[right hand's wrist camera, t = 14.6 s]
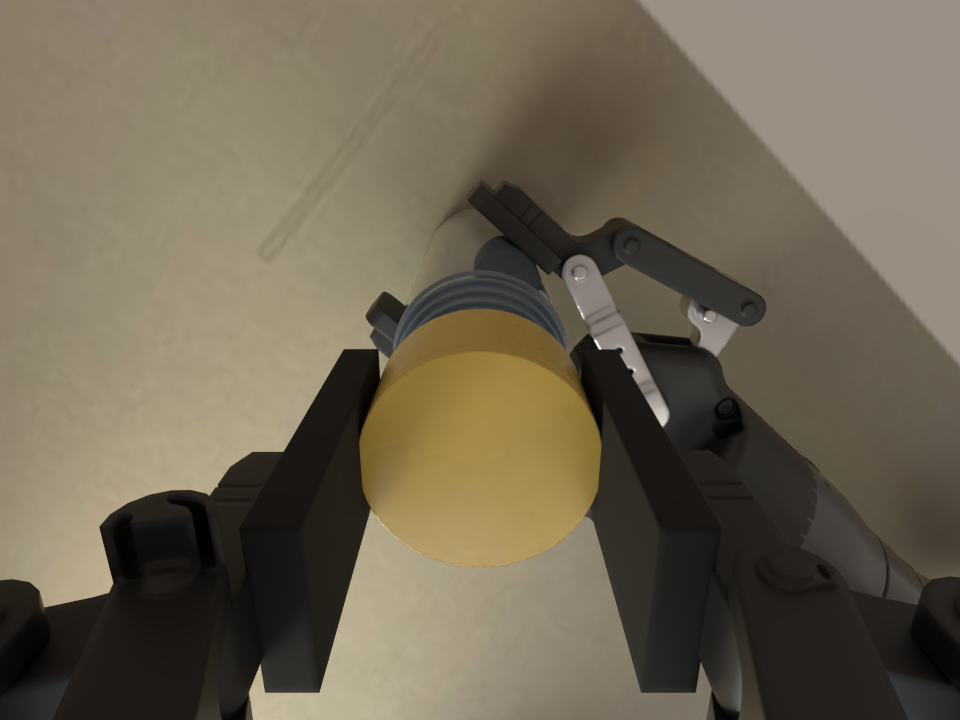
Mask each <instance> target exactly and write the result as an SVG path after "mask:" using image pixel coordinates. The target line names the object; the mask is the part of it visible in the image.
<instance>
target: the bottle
mask: <svg viewBox="0 0 960 720" xmlns="http://www.w3.org/2000/svg"><path fill="white" fill-rule="evenodd" d="M469 309H492V310H500V311H505V312H508V313H512V314H516V315H518V316H521V317H523V318H526V319H528V320H530V321H532V322H534V323H535V324H537V325H539V326H541V327H542V328H543V329H545V330H546V331H547V332H548V333H550V334H551V335H552V336H553V337H554V338H555V339H556V340H557V341H558V342H559V343H560V344H561V345H562V346H563V348H564V349H565V350H566V352H567V342H566V336H565V332H564V329H563V326H562V323H561V320H560V318H559V315H558V313H557V310H556V308H555V305H554V303H553V300H552V298H551V295H550V293H549V290H548V288H547V285H546V283H545V280H544V278H543V275H542V273H541V270H540V268H539V266H538V265H537V264H536V263H534V262H533V261H532V260H531V259H530V257H528V256H527V255H526V254H525V253H524V252H523V251H521V250H520V249H519V248H518V247H517V246H516V245H515V244H514V243H513V242H511V241H510V240H509V239H508V238H507V237H506V236H505V235H504V234H503V233H502V232H501V231H499V230H498V229H497V228H496V227H495V226H494V225H493V224H492V223H491V222H490V221H488V220H487V219H486V218H485V217H484V216H483V215H482V214H481V213H480V212H479V211H478V210H476V209H475V208H471V209H466V210H463V211H460V212H458V213H456V214H454V215H452V216H451V217H450V218H448V219H447V220H446V221H445V222H444V223H443V224H442V225H441V226H440V227H439V228H438V230H437V231H436V233H435V234H434V236H433V239H432V241H431V243H430V246H429V248H428V251H427V253H426V256H425V258H424V261H423V263H422V266H421V268H420V271H419V274H418V276H417V279H416V281H415V284H414V286H413V289H412V291H411V294H410V296H409V299H408V301H407V304H406V306H405V309H404V311H403V314H402V316H401V319H400V321H399V324H398V327H397V330H396V334H395V339H394V346H393V352H394V351H395V350H396V348H397V347H398V346H399V345H400V343H401V342H402V341H403V340H404V339H405V338H406V337H407V336H409V335H410V334H411V333H412V332H413V331H415V330H416V329H417V328H419V327H420V326H422V325H423V324H425V323H427V322H429V321H431V320H432V319H435V318H437V317H440V316H442V315H445V314H448V313H452V312H456V311H460V310H469Z"/></svg>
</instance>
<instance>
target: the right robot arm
mask: <svg viewBox="0 0 960 720" xmlns="http://www.w3.org/2000/svg"><path fill="white" fill-rule="evenodd" d="M379 382H380V369H379V353H378V349H344V350H343V352H342V353H341V355H340V357H339V359H338V360H337V362H336V364H335V365H334V367H333V369H332V370H331V372H330V374H329V376H328V377H327V379H326V381H325V382H324V384H323V386H322V388H321V389H320V391H319V393H318V394H317V396H316V398H315V399H314V401H313V403H312V405H311V406H310V408H309V410H308V411H307V413H306V415H305V416H304V418H303V420H302V422H301V423H300V425H299V427H298V428H297V430H296V432H295V433H294V435H293V437H292V439H291V440H290V442H289V444H288V445H287V447H286V449H285V451H284V452H252V453H250V454H249V455H247V456H246V457H244V458H243V459H241V460H240V461H238V462H237V463H235V464H234V465H232V466H231V467H230V468H229V470H228V471H227V472H226V474H225V475H224V476H223V478H222V479H221V481H220V482H219V483H218V487H216V488H215V489H214V490H213V492H212V493H211V495H210V496H209V495H207V494H205V493H201V492H197V491H193V490H171V491H166V492H161V493H156V494H151V495H148V496H145V497H143V498H140V499H137V500H135V501H132V502H130V503H127V504H126V505H124V506H123V507H121V508H120V509H118V510H116V511H115V512H113V513H112V514H110V515H109V516H108V518H107V519H106V520H105V521H104V522H103V523H102V524H101V526H100V531H101V535H102V539H103V543H104V547H105V551H106V555H107V559H108V563H109V567H110V571H111V575H112V579H113V585H112V588H111V590H110V592H109V593H107V594H103V595H100V596H96V597H92V598H88V599H83V600H78V601H73V602H69V603H64V604H59V605H55V606H50V607H45V608H44V605H43V602H42V599H41V595H40V592H39V590H38V589H37V588H36V587H35V586H33V585H32V584H31V583H30V582H26V581H20V580H14V579H10V580H1V581H0V720H253V717H252V709H251V703H250V697H249V690H250V688H251V685H252V683H253V680H254V678H255V676H256V673H257V671H258V668H259V666H260V664H261V670H262V676H263V682H264V689H265V693H319V692H320V689H321V685H322V682H323V678H324V674H325V671H326V667H327V664H328V660H329V656H330V653H331V649H332V646H333V642H334V639H335V635H336V631H337V628H338V624H339V621H340V617H341V613H342V610H343V606H344V603H345V599H346V596H347V592H348V588H349V585H350V581H351V578H352V574H353V570H354V567H355V563H356V560H357V556H358V552H359V549H360V545H361V542H362V538H363V535H364V531H365V527H366V524H367V520H368V517H369V513H370V509H371V507H370V506H369V504H368V502H367V500H366V498H365V495H364V493H363V487H362V474H361V460H360V447H359V437H360V433H361V429H362V427H363V424H364V421H365V419H366V416H367V413H368V411H369V408H370V406H371V403H372V400H373V398H374V395H375V392H376V390H377V387H378V384H379ZM581 383H582V386H583V388H584V391H585V394H586V396H587V399H588V401H589V404H590V407H591V409H592V412H593V414H594V417H595V420H596V422H597V425H598V428H599V430H600V434H601V440H602V442H601V457H600V470H599V483H598V492H597V494H596V497H595V499H594V501H593V503H592V505H591V507H590V511H591V514H592V518H593V521H594V525H595V528H596V532H597V536H598V539H599V543H600V546H601V550H602V554H603V557H604V561H605V564H606V568H607V571H608V575H609V579H610V582H611V586H612V589H613V593H614V597H615V600H616V604H617V607H618V611H619V614H620V618H621V622H622V625H623V629H624V632H625V636H626V640H627V643H628V647H629V650H630V654H631V657H632V661H633V665H634V668H635V672H636V675H637V679H638V683H639V686H640V690H641V693H696V687H697V681H698V674H699V668H700V662H701V663H702V665H703V668H704V670H705V673H706V675H707V678H708V680H709V683H710V685H711V688H712V691H711V697H710V703H709V708H708V714H707V720H960V578H959V577H944V578H938V579H932V580H931V581H930V582H929V583H927V584H926V585H925V586H924V587H923V589H922V592H921V595H920V598H919V602H918V605H915V604H910V603H905V602H900V601H896V600H891V599H886V598H881V597H877V596H872V595H868V594H864V593H860V592H857V591H853V590H850V589H849V587H848V584H847V582H846V581H845V580H844V578H843V577H842V576H841V574H840V573H839V571H838V570H837V569H836V568H835V567H833V566H832V565H831V564H829V563H828V562H827V561H825V560H824V559H823V558H821V557H820V556H818V555H815V554H813V553H811V552H809V551H806V550H804V549H802V548H800V547H795V546H791V545H788V544H787V542H786V541H785V539H784V538H783V537H782V535H781V534H780V532H779V531H778V530H777V528H776V527H775V526H774V524H773V523H772V521H771V520H770V519H769V517H768V516H767V514H766V513H765V512H764V510H763V509H762V507H761V506H760V505H759V503H758V502H757V501H756V500H754V499H753V495H752V494H751V492H750V491H749V489H748V488H747V487H746V485H743V481H742V480H741V478H740V477H739V476H738V474H737V473H736V471H735V470H734V469H733V467H732V466H731V465H730V464H729V463H727V462H726V461H724V460H723V459H721V458H720V457H718V456H717V455H715V454H714V453H712V452H711V451H709V450H676V449H675V448H674V446H673V444H672V442H671V441H670V439H669V437H668V436H667V434H666V432H665V430H664V429H663V427H662V425H661V424H660V422H659V420H658V419H657V417H656V415H655V413H654V412H653V410H652V408H651V407H650V405H649V403H648V402H647V400H646V398H645V396H644V395H643V393H642V391H641V390H640V388H639V386H638V385H637V383H636V381H635V379H634V378H633V376H632V374H631V373H630V371H629V369H628V368H627V366H626V364H625V362H624V361H623V359H622V357H621V356H620V354H619V352H618V351H617V349H582V365H581Z"/></svg>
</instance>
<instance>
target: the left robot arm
mask: <svg viewBox="0 0 960 720" xmlns="http://www.w3.org/2000/svg"><path fill="white" fill-rule="evenodd" d="M467 200H468V201H469V202H470V203H471V205H472V206H473V207H474V208H475V209H476V210H478V211H479V212H480V213H481V214H482V215H483V216H484V217H485V218H486V219H487V220H488V221H490V222H491V223H492V224H493V225H494V226H495V227H496V228H497V229H498V230H499V231H501V232H502V233H503V234H504V235H505V236H506V237H507V238H508V239H509V240H510V241H511V242H513V243H514V244H515V245H516V246H517V247H518V248H519V249H520V250H521V251H523V252H524V253H525V254H526V255H527V256H528V257H530V259H531V260H532V261H533V262H534V263H536V264H537V265H538V266H539V267H540V268H541V269H542V270H543V271H544V272H545V273H546V274H548V275H549V274H550V273H551V272H552V271H554V272H555V273H556V274H557V275H558V276H559V277H560V278H561V279H563V281H564V283H565V285H566V287H567V289H568V290H569V292H570V294H571V296H572V298H573V300H574V302H575V304H576V306H577V308H578V310H579V312H580V314H581V316H582V318H583V320H584V322H585V324H586V326H587V328H588V330H589V332H590V334H591V335H592V337H591V336H590V335H589V334H587V335H586V336H585V337H584V338H583V339H582V340H581V341H580V342H579V343H578V344H577V345H576V346H575V347H574V348H573V350H572V352H571V354H570V355H569V356H570V358H571V360H572V361H573V363H574V365H575V367H576V370H577V373H578V375H579V378H580V380H581V365H582V349H617V351H618V352H619V354H620V356H621V357H622V359H623V361H624V362H625V364H626V366H627V368H628V369H629V371H630V373H631V374H632V376H633V378H634V379H635V381H636V383H637V385H638V386H639V388H640V390H641V391H642V393H643V395H644V396H645V398H646V400H647V402H648V403H649V405H650V407H651V408H652V410H653V412H654V413H655V415H656V417H657V419H658V420H659V422H660V424H661V425H662V427H663V429H664V430H665V432H666V434H667V436H668V437H669V439H670V441H671V442H672V444H673V446H674V448H675V449H676V450H709V451H711V452H712V453H714V454H715V455H717V456H718V457H720V458H721V459H723V460H724V461H726V462H727V463H729V464H730V465H731V466H732V467H733V469H734V470H735V471H736V473H737V474H738V476H739V477H740V478H741V480H742V481H743V485H746V487H747V488H748V489H749V491H750V492H751V494H752V495H753V499H754V500H756V501H757V502H758V503H759V505H760V506H761V507H762V509H763V510H764V512H765V513H766V514H767V516H768V517H769V519H770V520H771V521H772V523H773V524H774V526H775V527H776V528H777V530H778V531H779V532H780V534H781V535H782V537H783V538H784V539H785V541H786V542H787V544H788V545H791V546H795V547H800V548H802V549H804V550H806V551H809V552H811V553H813V554H815V555H818V556H820V557H821V558H823V559H824V560H825V561H827V562H828V563H829V564H831V565H832V566H833V567H835V568H836V569H837V570H838V571H839V573H840V574H841V576H842V577H843V578H844V580H845V581H846V582H847V584H848V587H849V589H850V590H853V591H857V592H860V593H864V594H868V595H872V596H877V597H881V598H886V599H891V600H896V601H900V602H905V603H910V604H915V605H918V602H919V598H920V595H921V592H922V589H923V587H924V586H925V585H926V584H927V583H929V582H930V581H931V580H930V579H928V578H926V577H924V576H923V575H921V574H919V573H917V572H916V571H914V570H913V568H912V567H911V566H910V565H908V564H907V563H906V562H905V561H904V560H903V559H902V558H901V557H900V556H899V555H898V554H897V553H896V552H895V551H894V550H892V549H891V548H890V547H889V546H888V545H887V544H886V543H885V542H884V541H883V540H882V539H881V538H880V537H879V536H877V535H876V534H875V533H874V532H873V531H872V530H871V529H870V528H869V527H868V526H867V525H866V524H865V522H864V521H863V520H862V518H861V517H860V516H859V514H858V513H857V512H856V510H855V509H854V508H853V506H852V505H851V504H850V503H849V501H848V500H847V499H846V498H845V497H844V496H843V495H842V494H841V493H840V492H839V491H838V490H837V489H836V487H834V486H833V485H832V484H831V483H830V482H829V481H828V480H827V479H826V478H825V477H824V476H823V475H822V474H821V473H820V471H819V470H818V469H817V468H816V466H815V465H814V464H813V463H812V462H811V461H810V460H808V459H807V458H805V457H804V456H802V455H800V454H799V453H798V452H797V451H796V450H795V449H794V448H793V447H792V446H791V445H790V444H789V443H788V442H787V441H786V440H784V439H783V438H782V437H781V436H780V435H779V434H778V433H777V432H776V431H775V430H774V429H773V428H772V427H771V426H770V425H769V424H767V423H766V422H765V421H764V420H763V419H762V418H761V417H760V416H759V415H758V414H757V413H756V412H755V411H754V410H753V409H752V408H751V407H749V406H748V405H747V404H746V403H745V402H744V401H743V400H742V399H741V398H740V397H739V396H738V395H737V394H736V393H735V392H734V391H732V390H731V389H730V388H729V387H728V386H727V384H726V382H725V379H724V376H723V371H722V367H721V364H720V362H719V360H718V359H717V357H718V355H719V354H720V353H721V351H722V350H723V348H724V347H725V345H726V344H727V343H728V341H729V340H730V338H731V337H732V335H733V334H734V333H735V331H736V330H737V328H738V327H739V325H741V326H752V325H754V324H756V323H758V322H759V321H760V320H761V319H762V318H763V316H764V314H765V311H766V303H765V300H764V299H763V298H762V297H761V296H760V295H758V294H757V293H755V292H754V291H752V290H751V289H749V288H747V287H746V286H744V285H743V284H741V283H739V282H738V281H736V280H735V279H733V278H731V277H730V276H728V275H726V274H724V273H722V272H721V271H719V270H717V269H715V268H713V267H711V266H710V265H708V264H706V263H704V262H702V261H701V260H699V259H697V258H695V257H693V256H691V255H690V254H688V253H686V252H684V251H682V250H681V249H679V248H677V247H675V246H673V245H672V244H670V243H668V242H666V241H664V240H662V239H661V238H659V237H657V236H655V235H653V234H652V233H650V232H648V231H646V230H644V229H642V228H641V227H639V226H637V225H635V224H633V223H632V222H630V221H628V220H626V219H624V218H619V217H617V218H613V219H610V220H609V221H607V222H606V223H605V224H604V226H603V227H602V228H600V229H598V230H596V231H594V232H592V233H590V234H588V235H585V236H573V235H571V234H569V233H567V232H566V231H564V230H563V229H562V228H561V227H560V226H559V225H558V224H557V223H556V222H555V221H554V220H553V219H552V218H551V217H550V216H549V215H548V214H546V213H545V212H544V211H543V210H542V209H541V208H540V207H539V206H538V205H537V204H536V203H535V202H534V201H533V200H532V199H531V198H529V197H528V196H527V195H526V194H525V193H524V192H523V191H522V190H521V189H520V188H519V187H518V186H516V185H513V184H511V183H508V182H505V181H502V182H501V184H500V185H499V186H498V187H497V188H496V189H495V190H494V191H493V190H492V189H491V188H490V187H489V186H488V185H487V184H486V183H484V182H483V181H482V180H480V181H479V183H478V184H477V185H476V186H475V187H474V188H473V190H472V191H471V192H470V193H469V194H468V197H467ZM624 264H627V265H628V266H630V267H632V268H634V269H636V270H638V271H640V272H641V273H643V274H645V275H647V276H649V277H651V278H653V279H655V280H656V281H658V282H660V283H662V284H664V285H666V286H668V287H669V288H671V289H673V290H675V291H677V292H679V293H681V294H682V295H683V296H682V298H681V301H680V310H681V312H682V314H683V315H684V316H685V317H686V318H687V319H688V320H689V321H690V322H691V324H692V334H691V337H690V338H684V337H674V336H664V335H654V334H644V333H634V332H630V331H629V329H628V327H627V325H626V323H625V321H624V319H623V317H622V315H621V313H620V312H619V310H618V308H617V306H616V304H615V302H614V300H613V298H612V296H611V294H610V292H609V290H608V288H607V286H606V284H605V282H604V280H603V278H602V276H603V275H605V274H607V273H609V272H611V271H613V270H614V269H616V268H618V267H620V266H622V265H624ZM404 309H405V306H404V305H403V304H402V303H401V302H400V301H398V300H397V299H396V298H395V297H393V296H392V295H391V294H389V293H387V292H383V293H382V294H381V295H380V296H379V297H378V298H377V299H376V301H375V302H374V303H373V304H372V305H371V307H370V309H369V310H368V312H367V314H366V319H367V320H368V322H369V323H370V324H371V325H372V326H373V327H374V329H373V331H372V333H371V335H370V337H371V339H372V341H373V342H374V344H375V346H376V348H377V349H378V350H379V351H380V352H382V353H383V354H384V355H385V356H387V357H388V358H390V357H391V355H392V354H393V346H394V339H395V334H396V330H397V327H398V324H399V321H400V319H401V316H402V314H403V311H404ZM585 516H586V517H588V518H590V519H591V520H592V521H593V518H592V514H591V511H590V509H589V510H588V512H587V514H586V515H585ZM593 522H594V521H593Z"/></svg>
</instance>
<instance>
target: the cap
mask: <svg viewBox="0 0 960 720" xmlns="http://www.w3.org/2000/svg"><path fill="white" fill-rule="evenodd" d="M601 442H602V440H601V434H600V430H599V428H598V425H597V422H596V420H595V417H594V414H593V412H592V409H591V407H590V404H589V401H588V399H587V396H586V394H585V391H584V388H583V386H582V383H581V380H580V378H579V375H578V373H577V370H576V367H575V365H574V363H573V361H572V360H571V358H570V356H569V354H568V353H567V352H566V350H565V349H564V348H563V346H562V345H561V344H560V343H559V342H558V341H557V340H556V339H555V338H554V337H553V336H552V335H551V334H550V333H548V332H547V331H546V330H545V329H543V328H542V327H541V326H539V325H537V324H535V323H534V322H532V321H530V320H528V319H526V318H523V317H521V316H518V315H516V314H512V313H508V312H505V311H500V310H492V309H469V310H460V311H456V312H452V313H448V314H445V315H442V316H440V317H437V318H435V319H432V320H431V321H429V322H427V323H425V324H423V325H422V326H420V327H419V328H417V329H416V330H415V331H413V332H412V333H411V334H410V335H409V336H407V337H406V338H405V339H404V340H403V341H402V342H401V343H400V345H399V346H398V347H397V348H396V350H395V351H394V352H393V354H392V355H391V357H390V359H389V361H388V362H387V364H386V366H385V369H384V372H383V374H382V377H381V379H380V382H379V384H378V387H377V390H376V392H375V395H374V398H373V400H372V403H371V406H370V408H369V411H368V413H367V416H366V419H365V421H364V424H363V427H362V429H361V433H360V437H359V447H360V460H361V474H362V487H363V493H364V495H365V498H366V500H367V502H368V504H369V506H370V507H371V509H372V511H373V513H374V514H375V515H376V517H377V518H378V519H379V521H380V522H381V523H382V525H383V526H384V527H385V528H386V529H387V530H388V531H389V532H390V533H391V534H392V535H394V536H395V537H396V538H397V539H398V540H400V541H401V542H402V543H404V544H405V545H407V546H408V547H410V548H412V549H413V550H415V551H417V552H419V553H421V554H423V555H425V556H427V557H430V558H433V559H436V560H438V561H441V562H445V563H450V564H454V565H460V566H469V567H492V566H501V565H506V564H511V563H516V562H519V561H522V560H525V559H528V558H531V557H533V556H535V555H538V554H540V553H542V552H544V551H546V550H547V549H549V548H551V547H552V546H554V545H556V544H557V543H558V542H560V541H561V540H562V539H563V538H565V537H566V536H567V535H568V534H569V533H570V532H571V531H572V530H573V529H574V528H575V527H576V526H577V525H578V524H579V523H580V522H581V520H582V519H583V518H584V516H585V515H586V514H587V512H588V510H589V509H590V507H591V505H592V503H593V501H594V499H595V497H596V494H597V492H598V483H599V470H600V457H601Z"/></svg>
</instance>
